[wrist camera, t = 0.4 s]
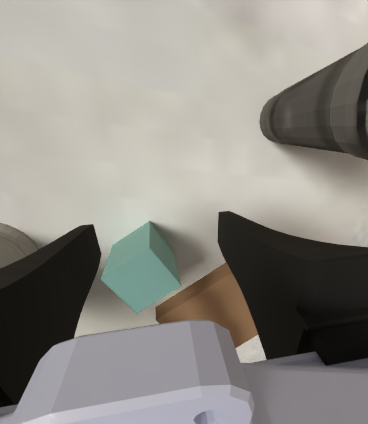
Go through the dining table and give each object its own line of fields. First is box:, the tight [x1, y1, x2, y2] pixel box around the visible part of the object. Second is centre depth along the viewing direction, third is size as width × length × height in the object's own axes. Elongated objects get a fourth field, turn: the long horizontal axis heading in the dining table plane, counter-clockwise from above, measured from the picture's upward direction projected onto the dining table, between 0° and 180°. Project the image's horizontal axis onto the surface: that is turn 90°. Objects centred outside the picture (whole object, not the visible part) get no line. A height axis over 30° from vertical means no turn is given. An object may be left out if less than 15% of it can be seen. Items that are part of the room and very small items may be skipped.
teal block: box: [101, 221, 181, 313], centre depth 20 cm, size 5×5×6 cm
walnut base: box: [156, 263, 258, 348], centre depth 27 cm, size 12×12×2 cm
